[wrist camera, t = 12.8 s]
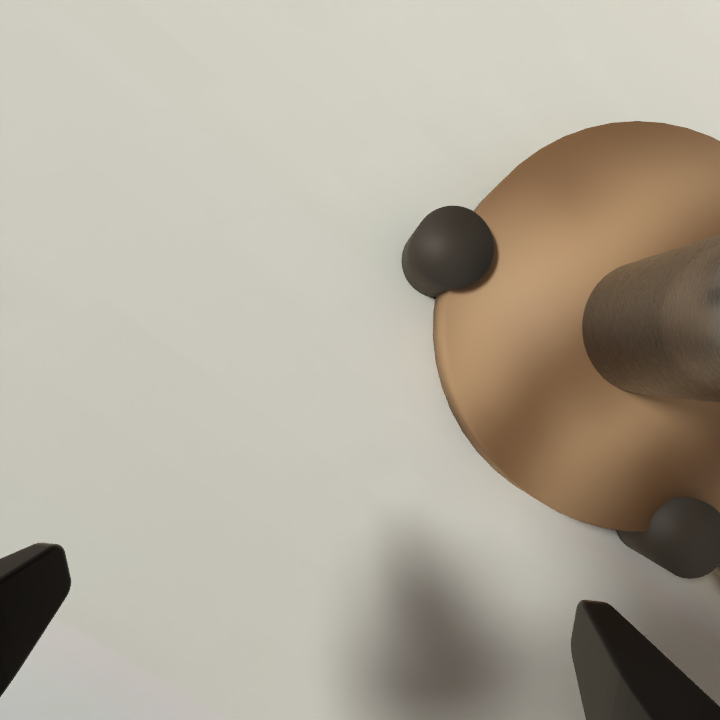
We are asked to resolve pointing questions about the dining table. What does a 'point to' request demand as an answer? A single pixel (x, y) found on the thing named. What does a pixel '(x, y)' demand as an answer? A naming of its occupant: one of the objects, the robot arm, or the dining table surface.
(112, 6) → the dining table surface
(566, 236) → the base plate
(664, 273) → the gold-capped silver cylinder
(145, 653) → the dining table surface
